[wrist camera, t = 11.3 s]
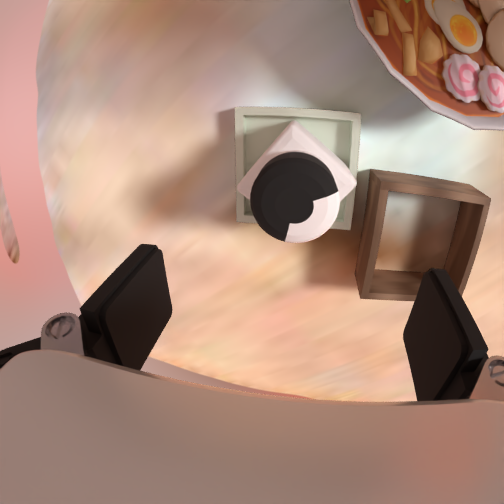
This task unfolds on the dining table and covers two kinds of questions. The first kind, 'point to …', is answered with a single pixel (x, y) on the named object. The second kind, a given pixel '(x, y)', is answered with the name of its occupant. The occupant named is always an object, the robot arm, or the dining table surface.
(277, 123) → the tray
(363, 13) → the ramen bowl
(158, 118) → the dining table surface
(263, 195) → the medicine bottle
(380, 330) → the dining table surface
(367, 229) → the holder
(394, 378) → the dining table surface
